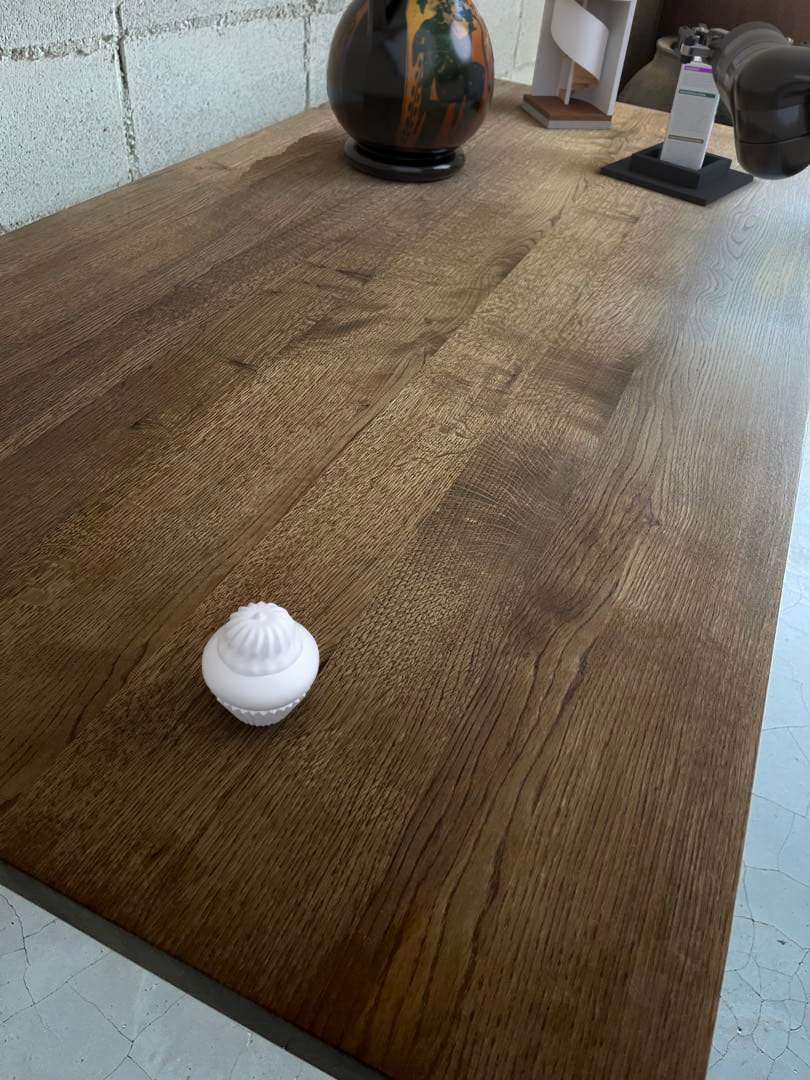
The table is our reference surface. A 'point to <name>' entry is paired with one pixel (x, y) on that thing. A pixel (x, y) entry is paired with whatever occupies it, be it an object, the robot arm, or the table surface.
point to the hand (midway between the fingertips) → (736, 38)
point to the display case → (579, 62)
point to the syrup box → (691, 116)
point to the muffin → (260, 663)
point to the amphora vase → (410, 85)
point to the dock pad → (679, 175)
